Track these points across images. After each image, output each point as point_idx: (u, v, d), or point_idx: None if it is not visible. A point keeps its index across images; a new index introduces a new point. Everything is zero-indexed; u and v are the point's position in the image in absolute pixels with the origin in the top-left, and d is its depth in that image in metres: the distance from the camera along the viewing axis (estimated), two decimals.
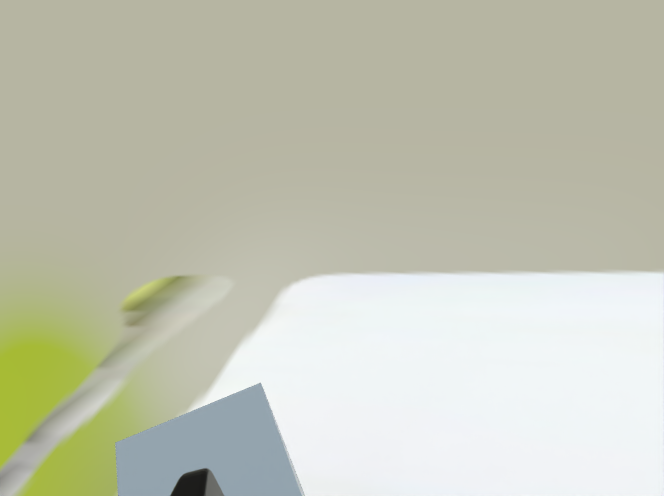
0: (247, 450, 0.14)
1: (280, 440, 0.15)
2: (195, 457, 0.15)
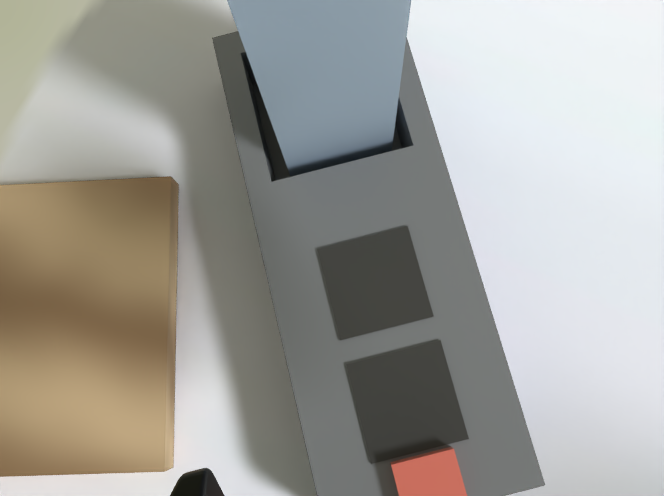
0: None
1: None
2: None
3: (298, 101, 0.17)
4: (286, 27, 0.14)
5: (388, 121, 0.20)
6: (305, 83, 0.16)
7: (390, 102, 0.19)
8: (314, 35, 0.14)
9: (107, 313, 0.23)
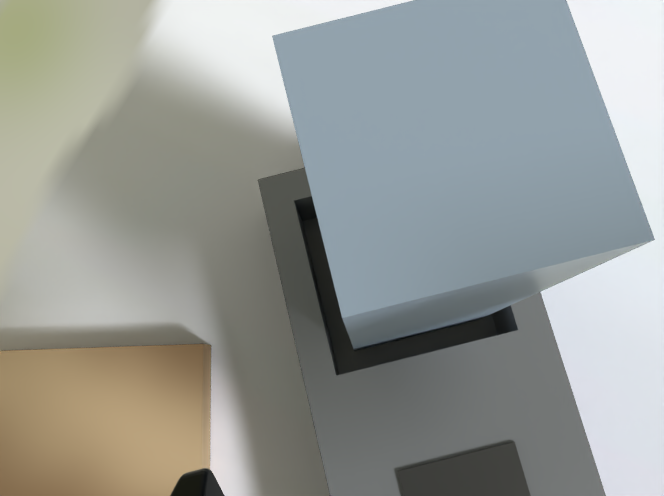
0: (538, 110, 0.08)
1: (601, 103, 0.08)
2: (437, 102, 0.08)
3: (395, 329, 0.13)
4: (414, 310, 0.09)
5: (493, 311, 0.16)
6: (411, 322, 0.12)
7: (505, 305, 0.14)
8: (448, 304, 0.10)
9: None
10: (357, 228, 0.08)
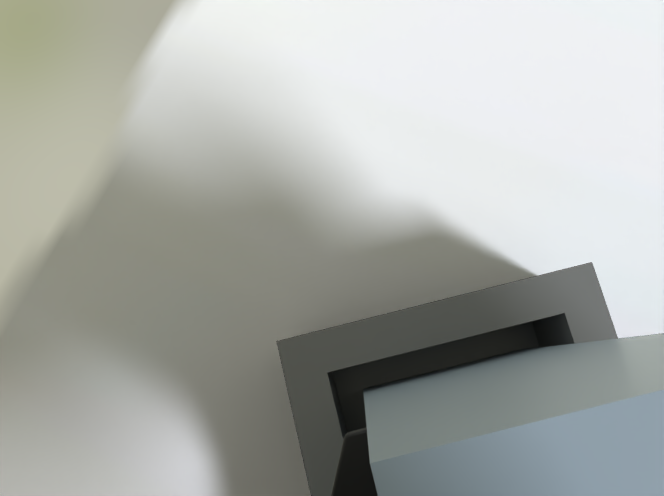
0: None
1: None
2: None
3: None
4: None
5: None
6: None
7: None
8: None
9: None
10: None
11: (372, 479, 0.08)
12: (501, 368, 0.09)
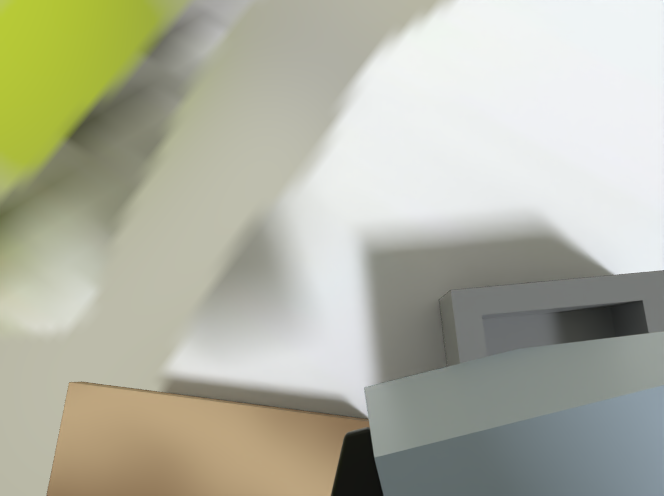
0: None
1: None
2: None
3: None
4: None
5: None
6: None
7: None
8: None
9: None
10: None
11: (372, 479, 0.08)
12: (503, 366, 0.09)
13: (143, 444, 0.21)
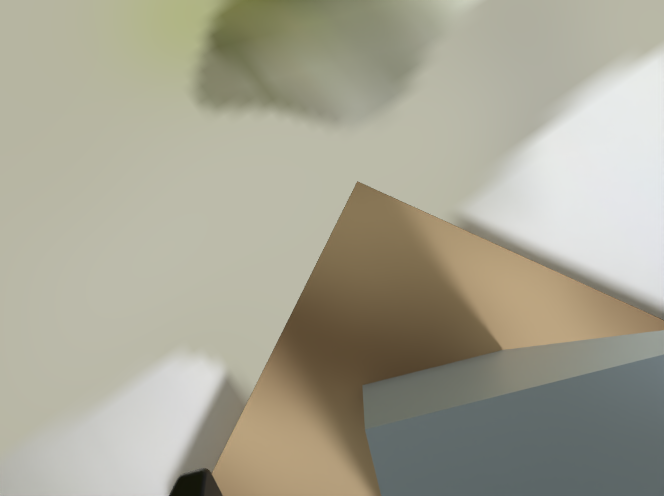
0: None
1: None
2: None
3: None
4: None
5: None
6: None
7: None
8: None
9: None
10: None
11: None
12: (480, 366, 0.10)
13: (430, 281, 0.17)
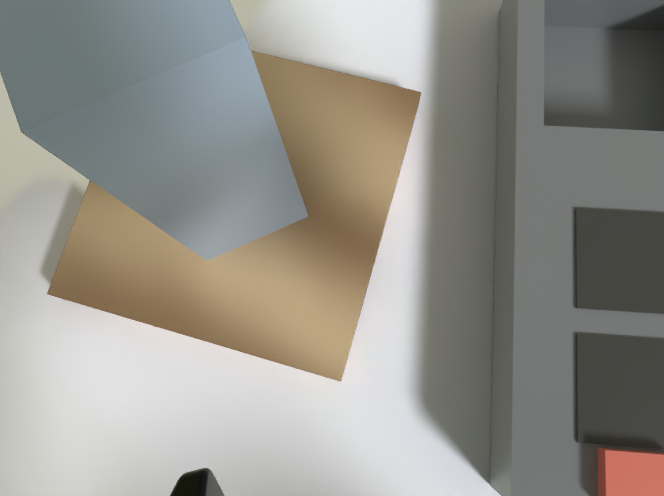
0: None
1: None
2: None
3: (173, 197, 0.15)
4: (118, 141, 0.11)
5: (290, 189, 0.18)
6: (172, 182, 0.14)
7: (284, 174, 0.17)
8: (159, 141, 0.12)
9: (322, 208, 0.22)
10: (27, 66, 0.10)
11: None
12: None
13: None
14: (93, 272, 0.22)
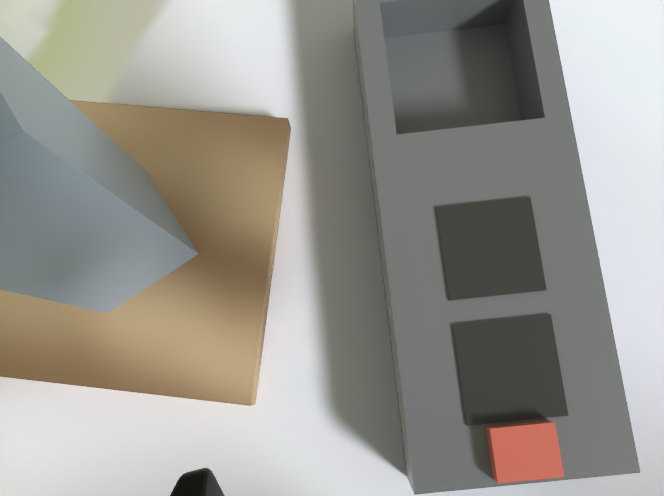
0: None
1: None
2: None
3: (33, 269, 0.16)
4: None
5: (160, 236, 0.19)
6: (23, 257, 0.15)
7: (144, 225, 0.18)
8: None
9: (210, 244, 0.23)
10: None
11: None
12: None
13: None
14: (0, 342, 0.22)
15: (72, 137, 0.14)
